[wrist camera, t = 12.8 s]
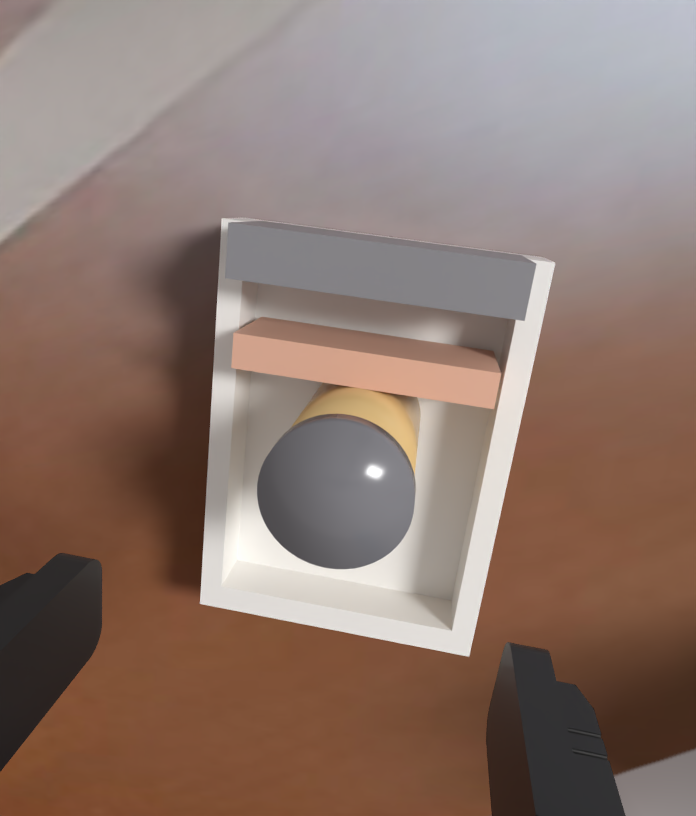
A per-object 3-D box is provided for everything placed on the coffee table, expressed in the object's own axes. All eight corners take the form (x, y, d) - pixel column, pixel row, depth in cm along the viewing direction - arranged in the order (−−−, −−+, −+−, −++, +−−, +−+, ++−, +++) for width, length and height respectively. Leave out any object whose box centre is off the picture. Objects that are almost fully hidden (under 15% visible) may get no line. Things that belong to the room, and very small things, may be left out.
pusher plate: (261, 316, 28) (233, 332, 24) (493, 350, 27) (501, 373, 23) (259, 347, 28) (231, 368, 25) (486, 382, 27) (493, 409, 24)
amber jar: (317, 351, 29) (263, 410, 20) (431, 369, 28) (427, 438, 20) (305, 457, 30) (251, 553, 22) (413, 476, 30) (401, 582, 21)
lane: (245, 217, 28) (201, 218, 23) (542, 256, 27) (566, 267, 22) (221, 568, 34) (182, 632, 29) (466, 614, 32) (471, 690, 27)
